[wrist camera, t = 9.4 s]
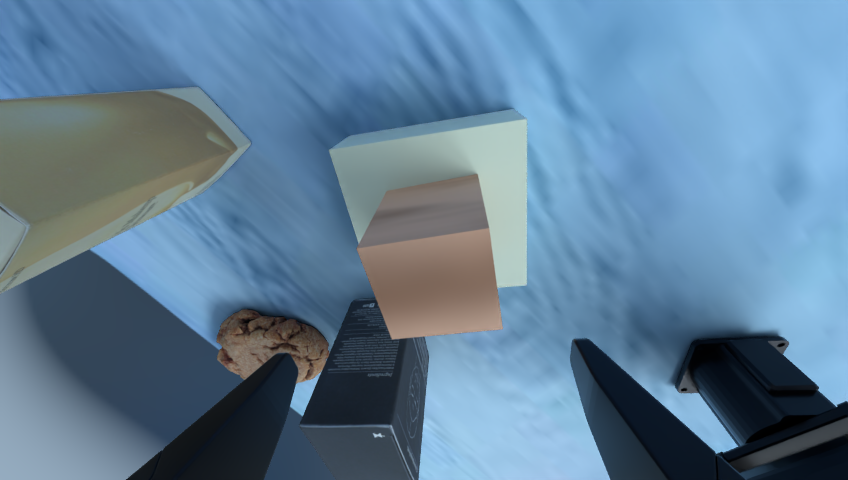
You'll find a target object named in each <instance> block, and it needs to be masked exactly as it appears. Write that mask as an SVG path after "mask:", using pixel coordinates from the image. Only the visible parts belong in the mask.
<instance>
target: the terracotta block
mask: <svg viewBox="0 0 848 480" xmlns="http://www.w3.org/2000/svg"><path fill="white" fill-rule="evenodd" d="M356 249H357V251H358V254H359V256H360V259H361V262H362V264H363V267H364V269H365V272H366V274H367V277H368V279H369V282H370V285H371V287H372V290H373V292H374V295H375V297H376V300H377V302H378V305H379V307H380V310H381V313H382V315H383V318H384V320H385V323H386V325H387V328H388V330H389V333H390V336H391V338H392V339H402V338H413V337H424V336H435V335H446V334H456V333H467V332H478V331H489V330H500V329H503V327H502V319H501V312H500V304H499V297H498V290H497V282H496V275H495V267H494V260H493V252H492V245H491V237H490V230H489V225H488V220H487V215H486V211H485V206H484V201H483V196H482V192H481V187H480V182H479V178H478V174H474V175H469V176H464V177H458V178H453V179H448V180H442V181H437V182H432V183H426V184H421V185H416V186H410V187H405V188H400V189H394V190H389V191H386V193H385V195H384V197H383V199H382V201H381V203H380V205H379V206H378V208H377V210H376V212H375V214H374V216H373V218H372V220H371V222H370V224H369V226H368V227H367V229H366V231H365V233H364V235H363V237H362V239H361V241H360V243H359V245H358V246H357V248H356Z"/></svg>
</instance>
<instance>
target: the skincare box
mask: <svg viewBox="0 0 848 480" xmlns="http://www.w3.org/2000/svg"><path fill="white" fill-rule="evenodd" d="M250 145H251V142H250V140H249V139H248V138H247V137H246V136H245V135H244V134H243V133H242V132H241V131H240V130H239V128H238V127H237V126H236V125H235V124H234V123H233V122H232V121H231V120H230V119H229V118H228V117H227V116H226V115H225V113H224V112H223V111H222V110H221V109H220V108H219V107H218V106H217V105H216V104H215V103H214V102H213V101H212V100H211V99H210V98H209V97H208V96H207V95H206V94H205V93H204V92H203V91H202V90H201V89H200V88H199V87H184V88H167V89H152V90H137V91H121V92H104V93H89V94H74V95H58V96H42V97H28V98H13V99H0V294H1V293H2V292H5V291H7V290H9V289H11V288H12V287H14V286H17V285H19V284H20V283H22V282H24V281H26V280H28V279H30V278H32V277H35V276H37V275H39V274H40V273H42V272H44V271H46V270H48V269H50V268H52V267H54V266H56V265H58V264H60V263H62V262H64V261H66V260H68V259H70V258H72V257H74V256H76V255H78V254H80V253H82V252H84V251H86V250H88V249H90V248H92V247H94V246H96V245H98V244H100V243H103V242H105V241H107V240H109V239H111V238H113V237H115V236H117V235H119V234H121V233H123V232H125V231H127V230H129V229H131V228H133V227H135V226H137V225H139V224H141V223H143V222H145V221H147V220H149V219H151V218H153V217H155V216H157V215H159V214H161V213H163V212H165V211H167V210H169V209H171V208H173V207H175V206H177V205H179V204H181V203H183V202H185V201H187V200H189V199H191V198H193V197H195V196H197V195H199V194H201V193H203V192H204V191H205V190H207V189H208V188H209V187H210V186H211V185H212V184H213V183H215V182H216V181H217V180H218V179H219V178H220V177H221V176H222V175H223V174H224V173H225V172H226V171H227V170H228V169H229V168H230V167H231V166H232V165H233V164H234V163H235V162H236V161H237V159H238V158H239V157H240V156H241V155H242V154H243V153H244V152H245V151H246V150H247V149H248V147H249V146H250Z"/></svg>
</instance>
